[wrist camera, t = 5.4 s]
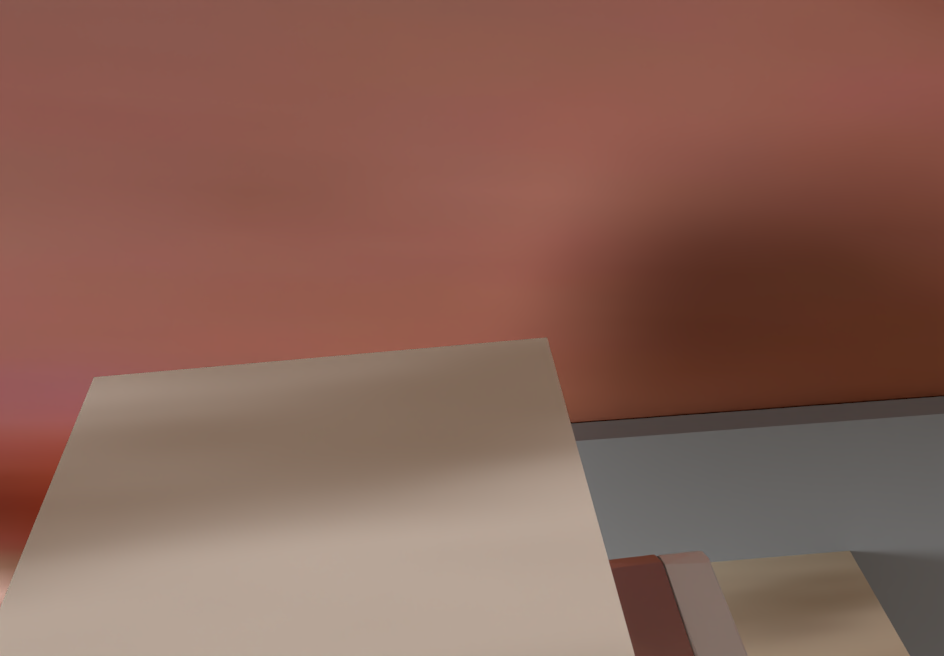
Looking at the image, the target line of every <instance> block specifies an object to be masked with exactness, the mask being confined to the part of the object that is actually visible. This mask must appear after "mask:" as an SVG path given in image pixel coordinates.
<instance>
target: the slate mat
mask: <svg viewBox="0 0 944 656" xmlns="http://www.w3.org/2000/svg"><path fill="white" fill-rule="evenodd" d="M571 426H572V430H573V433H574V437H575V441H576V444H577V448H578V452H579V455H580V459H581V462H582V466H583V470H584V473H585V477H586V480H587V484H588V488H589V491H590V495H591V499H592V502H593V506H594V509H595V513H596V517H597V520H598V524H599V527H600V531H601V535H602V538H603V542H604V546H605V549H606V553H607V556H608V560H611V559H620V558H628V557H636V556H645V555H653V554H654V555H656V556H658V555H666V554H674V553H683V552H691V551H702V552H703V553H704V554H705V555H706V556H707V557H708V558H709V560H710V562H720V561H732V560H744V559H756V558H768V557H780V556H792V555H804V554H816V553H829V552H841V551H850V552H851V554H852V556H853V557H854V559H855V561H856V563H857V564H858V566H859V568H860V570H861V571H862V573H863V575H864V577H865V578H866V580H867V582H868V583H869V585H870V587H871V589H872V590H873V592H874V594H875V596H876V597H877V599H878V601H879V603H880V604H881V606H882V608H883V610H884V611H885V613H886V615H887V617H888V618H889V620H890V622H891V623H892V625H893V627H894V629H895V630H896V632H897V634H898V636H899V637H900V639H901V641H902V643H903V644H904V646H905V648H906V650H907V651H908V653H909V655H910V656H944V396H941V397H927V398H914V399H900V400H886V401H873V402H859V403H845V404H832V405H818V406H805V407H791V408H777V409H764V410H750V411H736V412H723V413H709V414H695V415H682V416H668V417H654V418H641V419H627V420H613V421H600V422H586V423H573V424H571Z"/></svg>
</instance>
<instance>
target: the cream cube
mask: <svg viewBox="0 0 944 656" xmlns="http://www.w3.org/2000/svg"><path fill="white" fill-rule="evenodd" d="M0 656H635V654H634V650H633V647H632V643H631V639H630V636H629V632H628V629H627V625H626V621H625V618H624V614H623V611H622V607H621V603H620V600H619V596H618V592H617V589H616V585H615V582H614V578H613V574H612V571H611V567H610V564H609V560H608V556H607V553H606V549H605V546H604V542H603V538H602V535H601V531H600V527H599V524H598V520H597V517H596V513H595V509H594V506H593V502H592V499H591V495H590V491H589V488H588V484H587V480H586V477H585V473H584V470H583V466H582V462H581V459H580V455H579V452H578V448H577V444H576V441H575V437H574V433H573V430H572V426H571V423H570V419H569V415H568V412H567V408H566V405H565V401H564V397H563V394H562V390H561V386H560V383H559V379H558V376H557V372H556V368H555V365H554V361H553V358H552V354H551V350H550V347H549V343H548V339H547V338H536V339H525V340H513V341H502V342H490V343H479V344H468V345H456V346H445V347H433V348H422V349H411V350H399V351H388V352H376V353H365V354H354V355H342V356H331V357H320V358H308V359H297V360H285V361H274V362H263V363H251V364H240V365H228V366H217V367H206V368H194V369H183V370H171V371H160V372H149V373H137V374H126V375H114V376H103V377H94V378H93V381H92V383H91V386H90V388H89V391H88V393H87V396H86V398H85V400H84V403H83V405H82V408H81V410H80V413H79V415H78V418H77V420H76V423H75V425H74V427H73V430H72V432H71V435H70V437H69V440H68V442H67V445H66V447H65V450H64V452H63V455H62V457H61V459H60V462H59V464H58V467H57V469H56V472H55V474H54V477H53V479H52V482H51V484H50V487H49V489H48V491H47V494H46V496H45V499H44V501H43V504H42V506H41V509H40V511H39V514H38V516H37V518H36V521H35V523H34V526H33V528H32V531H31V533H30V536H29V538H28V541H27V543H26V546H25V548H24V550H23V553H22V555H21V558H20V560H19V563H18V565H17V568H16V570H15V573H14V575H13V577H12V580H11V582H10V585H9V587H8V590H7V592H6V595H5V597H4V600H3V602H2V605H1V607H0Z"/></svg>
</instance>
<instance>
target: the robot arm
mask: <svg viewBox="0 0 944 656" xmlns="http://www.w3.org/2000/svg"><path fill="white" fill-rule="evenodd" d="M609 564H610V567H611V571H612V574H613V578H614V582H615V585H616V589H617V592H618V596H619V600H620V603H621V607H622V611H623V614H624V618H625V621H626V625H627V629H628V632H629V636H630V639H631V643H632V647H633V650H634V654H635V656H748V655H747V652H746V650H745V647H744V645H743V642H742V640H741V637H740V635H739V632H738V630H737V627H736V625H735V622H734V620H733V617H732V615H731V612H730V610H729V607H728V605H727V602H726V600H725V597H724V595H723V592H722V590H721V587H720V585H719V582H718V580H717V577H716V575H715V572H714V570H713V567H712V565H711V562H710V560H709V558H708V557H707V556H706V555H705V554H704V553H703V552H702V551H691V552H683V553H674V554H666V555H658V556H656V555H654V554H653V555H645V556H636V557H628V558H620V559H611V560H609Z"/></svg>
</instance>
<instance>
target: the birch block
mask: <svg viewBox="0 0 944 656" xmlns="http://www.w3.org/2000/svg"><path fill="white" fill-rule="evenodd" d="M711 565H712V567H713V570H714V572H715V575H716V577H717V580H718V582H719V585H720V587H721V590H722V592H723V595H724V597H725V600H726V602H727V605H728V607H729V610H730V612H731V615H732V617H733V620H734V622H735V625H736V627H737V630H738V632H739V635H740V637H741V640H742V642H743V645H744V647H745V650H746V652H747V655H748V656H910V655H909V653H908V651H907V650H906V648H905V646H904V644H903V643H902V641H901V639H900V637H899V636H898V634H897V632H896V630H895V629H894V627H893V625H892V623H891V622H890V620H889V618H888V617H887V615H886V613H885V611H884V610H883V608H882V606H881V604H880V603H879V601H878V599H877V597H876V596H875V594H874V592H873V590H872V589H871V587H870V585H869V583H868V582H867V580H866V578H865V577H864V575H863V573H862V571H861V570H860V568H859V566H858V564H857V563H856V561H855V559H854V557H853V556H852V554H851V552H850V551H841V552H829V553H816V554H804V555H792V556H780V557H768V558H756V559H744V560H732V561H720V562H711Z"/></svg>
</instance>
